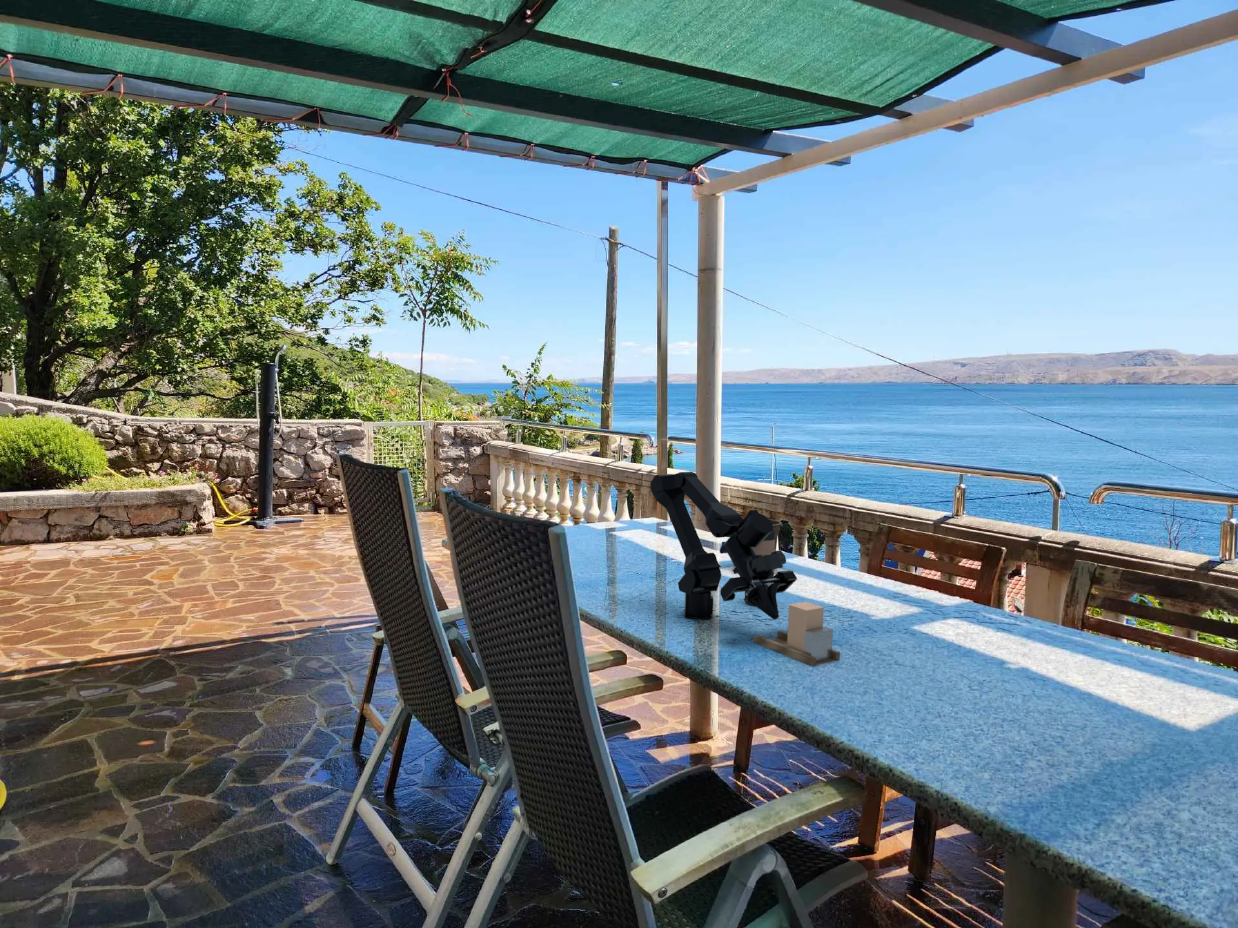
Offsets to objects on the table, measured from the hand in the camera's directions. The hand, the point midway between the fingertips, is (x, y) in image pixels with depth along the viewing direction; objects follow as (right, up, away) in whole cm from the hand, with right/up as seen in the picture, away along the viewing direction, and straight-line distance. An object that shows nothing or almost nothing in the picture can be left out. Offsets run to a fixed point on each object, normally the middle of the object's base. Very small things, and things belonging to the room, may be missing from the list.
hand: (776, 618), depth 165 cm
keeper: (+4, -6, -7) cm, 10 cm away
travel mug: (+3, -4, +37) cm, 37 cm away
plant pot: (+9, -1, +77) cm, 77 cm away
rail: (+3, -7, -4) cm, 9 cm away
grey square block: (+6, -7, -10) cm, 14 cm away
